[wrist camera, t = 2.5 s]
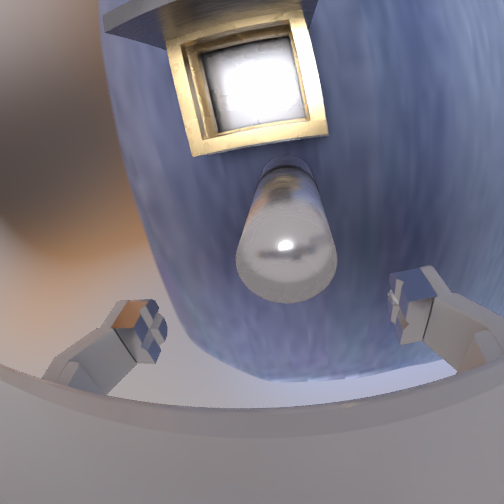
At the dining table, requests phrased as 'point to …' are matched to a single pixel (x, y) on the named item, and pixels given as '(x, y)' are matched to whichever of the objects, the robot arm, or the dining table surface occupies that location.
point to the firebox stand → (234, 67)
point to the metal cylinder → (286, 236)
